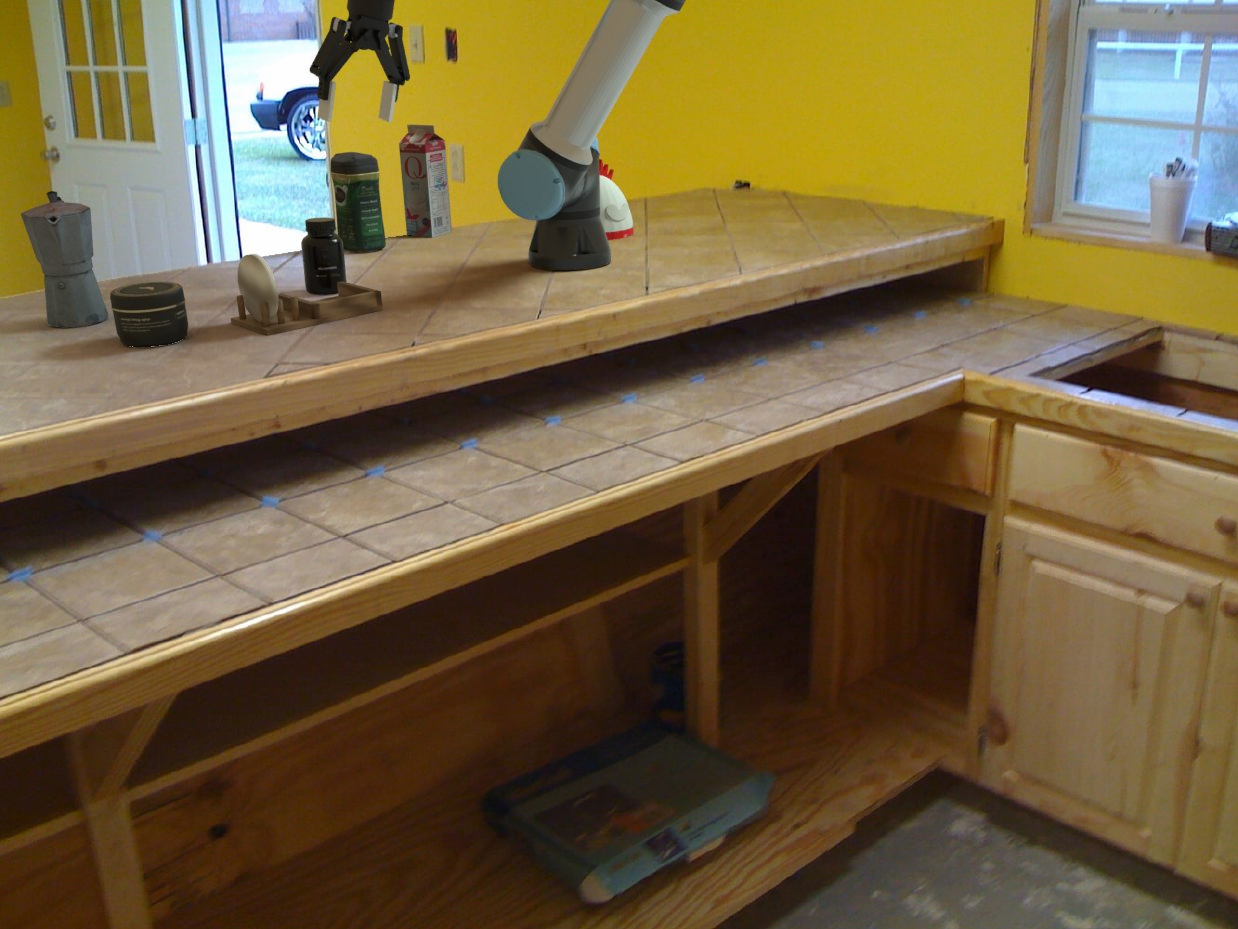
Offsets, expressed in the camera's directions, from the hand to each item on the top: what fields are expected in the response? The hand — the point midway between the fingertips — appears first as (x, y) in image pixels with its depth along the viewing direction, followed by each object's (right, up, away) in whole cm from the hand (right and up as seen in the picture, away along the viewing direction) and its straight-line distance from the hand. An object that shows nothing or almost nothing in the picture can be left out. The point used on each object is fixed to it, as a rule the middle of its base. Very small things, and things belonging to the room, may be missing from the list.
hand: (355, 120), depth 205 cm
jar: (-22, -42, -33) cm, 57 cm away
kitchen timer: (+42, -12, +39) cm, 58 cm away
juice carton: (+6, -11, +43) cm, 45 cm away
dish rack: (-3, -37, -22) cm, 43 cm away
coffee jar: (-5, -17, +29) cm, 34 cm away
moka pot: (-39, -37, -21) cm, 58 cm away
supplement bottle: (-4, -30, -5) cm, 31 cm away
